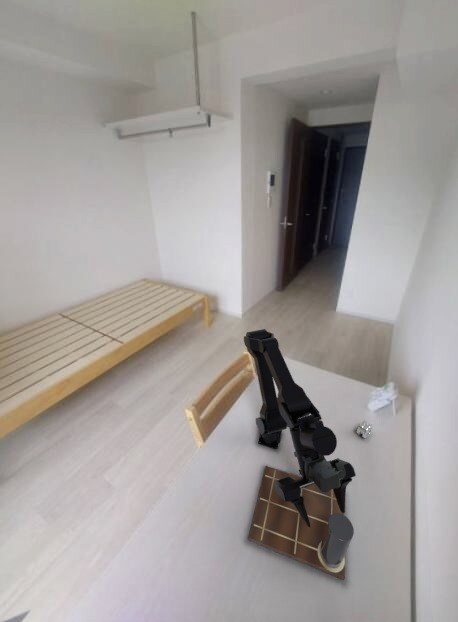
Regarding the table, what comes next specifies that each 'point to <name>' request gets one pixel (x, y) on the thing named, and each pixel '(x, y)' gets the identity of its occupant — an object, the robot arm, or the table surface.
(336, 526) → the dark grey cylinder
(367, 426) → the metal grooved wheel
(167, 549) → the table surface
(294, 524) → the board
